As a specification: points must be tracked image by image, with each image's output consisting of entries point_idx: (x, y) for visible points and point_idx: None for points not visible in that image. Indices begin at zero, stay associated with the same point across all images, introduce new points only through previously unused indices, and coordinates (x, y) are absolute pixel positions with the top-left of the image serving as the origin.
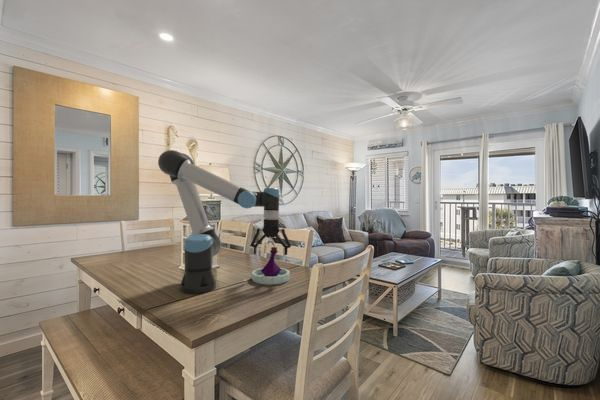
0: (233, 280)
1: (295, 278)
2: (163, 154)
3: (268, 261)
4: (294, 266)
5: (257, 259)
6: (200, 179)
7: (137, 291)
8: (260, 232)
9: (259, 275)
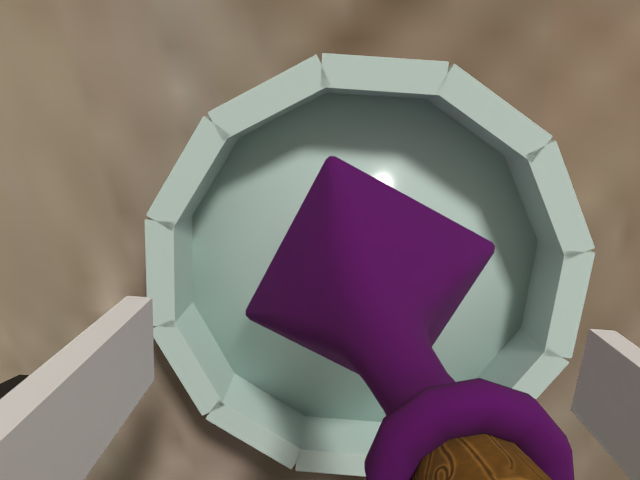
0: (12, 316)
1: (615, 241)
2: None
3: (332, 348)
4: None
5: (144, 376)
6: None
7: None
8: None
9: (230, 220)
